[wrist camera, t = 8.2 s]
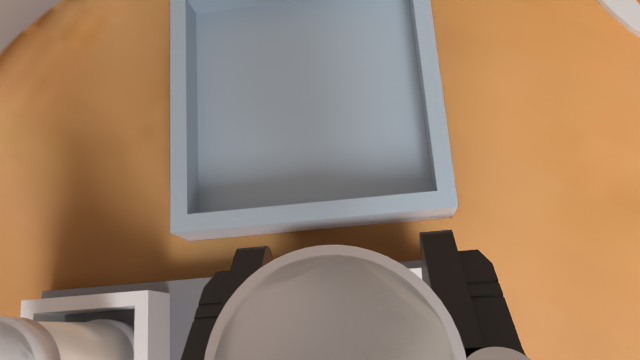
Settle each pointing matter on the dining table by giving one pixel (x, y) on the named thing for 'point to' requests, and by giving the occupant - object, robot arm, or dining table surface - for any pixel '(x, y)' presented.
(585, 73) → the dining table surface
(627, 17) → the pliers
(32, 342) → the fuse
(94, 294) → the fuse holder
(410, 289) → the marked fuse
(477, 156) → the dining table surface
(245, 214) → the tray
